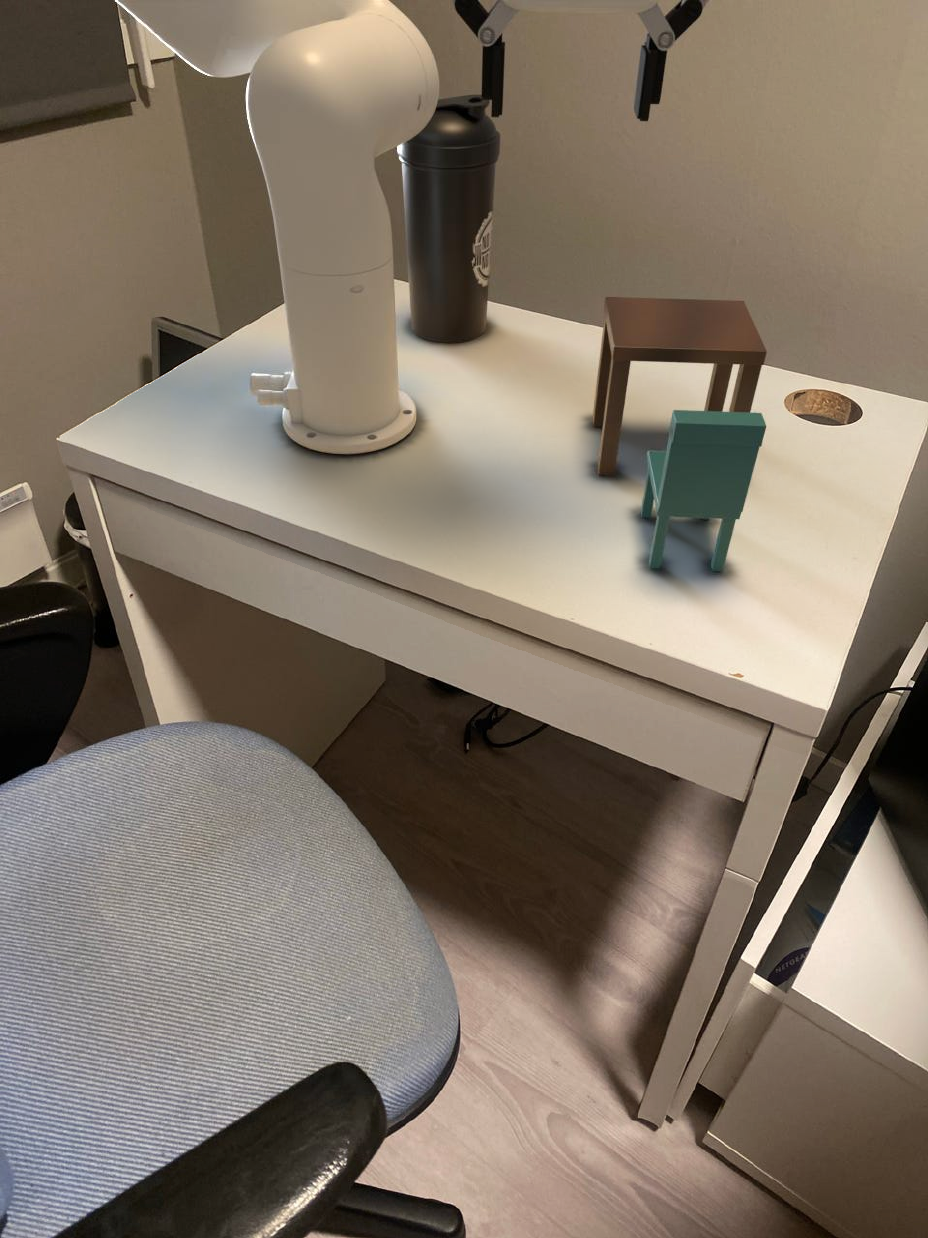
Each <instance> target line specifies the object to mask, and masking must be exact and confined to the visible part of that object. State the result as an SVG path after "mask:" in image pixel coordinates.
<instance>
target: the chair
mask: <svg viewBox="0 0 928 1238" xmlns="http://www.w3.org/2000/svg"><path fill="white" fill-rule="evenodd" d="M766 430H767V424H766V421H765V419H764V416H763V414H762V412H750V413H748V412H729V411H722V412H719V411H704V410H688V409H687V410H686V409H673V410H672V413H671V419H670V424H669V430H668V431H669V436H668V440H667V446H666V450H647V453H646V462H647V463H646V464H647V472H646V477H645V483H644V489H643V493H642V494H643V495H642V500H641V505H640V517H641V518H651V517H652V512H653V506H655V510H656V512H655V513H656V520H655V526H654V531H653V536H652V542H651V548H650V553H649V558H648V567H649V569H656V570H657V569H658V570H659V569H660V568H661V565H662V559H663V555H664V549H665V544H666V539H667V533H668V528H669V524H670V520H671V519H670V518H687V519H688V518H691V519H699V520H704V521H705V520H706V521H708V520H710V519H716V520H717V519H718V520H721V521H720V526H719V529H718V533H717V538H716V541H715V547H714V550H713V555H712V559H711V561H710V562H711V563H710V567H711V571H712V572H723V570H724V567H725V563H726V560H727V555H728V551H729V548H730V544H731V540H732V536H733V533H734V528H735V524H736V520H740V518H741V515H742V513H743V511H744V508H745V504H746V501H747V496H748V492H749V488H750V484H751V481H752V477H753V473H754V469H755V466H756V462H757V459H758V454H759V452H760V451H759V450H760V448H761V447H762V445H763V441H764V438H765V433H766Z"/></svg>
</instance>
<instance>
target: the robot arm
mask: <svg viewBox="0 0 928 1238" xmlns="http://www.w3.org/2000/svg"><path fill="white" fill-rule="evenodd" d="M114 1H115V2H116V3H117V4H119V5H120V6H121V7H122V8H123V9H125V10H126V11H127V12H128V14H130V15H131V16H132V17H134V18H135V19H136V20H137V21H138V22H139V23H141V24H142V25H143V26H144V27H145V28H146V29H147V30H148V31H149V32H151V33H152V34H153V35H154V36H155V37H156V38H158V39H159V40H160V41H161V42H162V43H163V44H165V45H166V46H167V47H168V48H169V49H170V50H171V51H172V52H174V53H175V54H176V55H177V57H180V58H181V59H182V60H183V61H184V62H186V63H187V64H188V65H190V66H191V67H192V68H194V69H195V70H197V71H198V72H200V73H202V74H204V75H207V76H209V77H213V78H214V77H215V78H225V79H226V78H233V77H238V76H243V75H246V74H249V77H248V80H247V85H246V91H245V106H246V117H247V121H248V125H249V130H250V133H251V137H252V141H253V144H254V146H255V150H256V153H257V156H258V159H259V162H260V163H259V164H260V166H261V169H262V172H263V177H264V180H265V184H266V188H267V193H268V197H269V203H270V209H271V213H272V218H273V226H274V227H273V228H274V234H275V241H276V249H277V255H278V261H279V262H278V263H279V269H280V278H281V286H282V291H283V292H282V293H283V301H284V309H285V318H286V325H287V332H288V333H287V334H288V340H289V348H290V356H291V357H290V358H291V364H292V371H284V373H283V375H279V374H278V375H277V374H276V375H274V374H270V373H252V374H251V375H250V378H249V386H250V387H249V388H250V392H251V394H252V395H255V396H257V403H258V405H259V406H283V409H282V414H281V418H282V425H283V429H284V432H285V433H286V435H287V436H288V437H289V438H290V439H291V440H292V441H293V442H295V443H297V444H299V445H300V446H302V447H304V448H307V449H309V450H313V451H315V452H320V453H327V454H334V455H335V454H336V455H355V454H364V453H369V452H370V453H371V452H374V451H375V452H376V451H377V450H382V449H385V448H388V447H390V446H393V445H395V444H396V443H398V442H400V441H402V440H403V439H404V438H405V437H407V435H409V434H410V433H412V430H413V429H414V427H415V426H416V422H417V407H416V403H415V402H414V400H413V398H412V397H411V396H409V394H407V393H406V392H405V391H403V390H401V389H400V387H399V365H398V364H399V363H398V340H397V339H398V338H397V320H396V319H397V317H396V292H395V271H394V270H395V268H394V249H393V247H394V246H393V232H392V231H393V229H392V222H391V215H390V210H389V207H388V203H387V199H386V198H385V195H384V192H383V189H382V187H381V184H380V181H379V178H378V175H377V172H376V168H375V159H376V158H377V157H379V156H380V155H382V154H384V153H386V152H388V151H390V150H392V149H395V148H397V146H399V145H401V144H403V143H404V142H406V141H408V140H410V139H411V138H413V137H414V136H416V135H417V134H418V133H419V132H421V131H422V130H423V129H424V127H425V126H426V125H427V124H428V122H429V121H430V119H431V118H432V116H433V114H434V112H435V109H436V106H437V102H438V99H439V97H440V75H439V70H438V65H437V62H436V59H435V56H434V53H433V51H432V49H431V47H430V45H429V43H428V42H427V39H426V38H425V36H423V34H422V33H421V31H420V30H419V28H417V26H416V25H415V24H414V23H413V21H412V20H411V19H409V17H408V16H406V14H405V13H403V12H402V11H401V9H399V8H398V7H397V6H396V5H395V4H393V2H392V1H390V0H114ZM451 1H452V3H453V5H454V9H455V12H456V13H457V15H458V16H459V17H460V18H461V19H462V20H463V22H464V23H465V24H466V25H467V27H468V28H469V29H470V30H471V32H472V33H473V34H474V35H475V36H476V38H477V39H478V42H479V44H480V45H481V46H482V55H481V56H482V57H481V60H482V61H481V95H482V100H490V101H491V111H490V113H491V116H490V118H500V116H503V109H504V85H505V84H504V83H505V60H506V57H505V56H506V41H503V33H504V31H505V30H506V29H507V27H508V26H509V25H510V23H511V22H512V21H513V20H514V18H515V17H516V15H518V13H519V12H521V11H522V12H528V13H529V12H531V13H555V14H597V15H598V14H600V15H601V14H602V15H630V14H633V15H634V14H637V15H638V17H639V19H640V20H641V23H642V24H643V25H644V27H645V29H646V31H647V34H646V41H644V45H643V44H642V45H641V46H640V54H639V62H638V71H637V79H636V87H635V93H634V102H633V111H634V114H635V117H636V119H637V120H639V122H649V120H650V112H651V105H660V103H661V99H662V92H663V85H664V78H665V70H666V63H667V55H668V50H670V49H671V48H672V47H673V46H674V45H675V42H676V41H677V40H678V39H679V38H680V37H681V36H682V35H684V33H685V32H686V31H687V30H688V29H689V28H690V27H691V26H692V25H693V24H695V22H696V21H698V19H700V17H701V16H702V13H703V10H704V8H705V7H706V5H707V3H709V1H710V0H679V2H678V3H677V4H676V5H675V6H673V8H671V10H670V11H668V13H666V14H664V13H663V11H662V9H661V8H660V6H659V4H658V3H659V2H660V0H496V1H495V2H494V4H493V5H492V6H491V8H490V9H489V10H488V11H487V10H486V8H485V7H484V6H483V4H482V3H481V2H480V1H479V0H451Z"/></svg>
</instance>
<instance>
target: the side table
mask: <svg viewBox="0 0 928 1238" xmlns="http://www.w3.org/2000/svg"><path fill="white" fill-rule="evenodd" d="M603 311H604V318H603V325H602V334H601V344H600V352H599V360H598V369H597V377H596V386H595V395H594V402H593V410H592V411H593V412H592V427H594V428H602V429H601V435H600V436H601V437H600V444H599V453H598V460H597V471H598V472H597V473H598V474H597V475H598V476H608V477H611V476H612V477H615V475H616V467H617V460H618V452H619V446H620V439H621V433H622V426H623V419H624V411H625V403H626V398H627V392H628V385H629V384H628V383H629V377H630V369H631V363H632V362H650V363H652V362H653V363H677V364H678V363H680V364H681V363H683V364H711V365H712V364H713V366H712V371H711V376H710V381H709V386H708V391H707V395H706V399H705V405H704V410H703V411H719V412H724V406H725V403H726V398H727V393H728V389H729V385H730V380H731V376H732V371H733V367H734V365H739V367H738V371H737V374H736V379H735V383H734V388H733V392H732V397H731V401H730V405H729V410H728V412H748V413H751V411H752V407H753V403H754V399H755V396H756V391H757V387H758V382H759V379H760V374H761V371H762V366H764V365H765V362H766V357H767V353H768V351H767V348H766V347H765V344H764V342H763V340H762V338H761V336H760V334H759V331H758V329H757V327H756V324H755V322H754V320H753V318H752V315H751V313H750V312H749V309H748V306H747V305H746V302H745V300H728V299H727V300H726V299H724V300H723V299H697V298H696V299H695V298H694V299H693V298H665V297H664V298H661V297H629V296H628V297H623V296H605V298H604V306H603Z"/></svg>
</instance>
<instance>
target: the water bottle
mask: <svg viewBox="0 0 928 1238" xmlns="http://www.w3.org/2000/svg"><path fill="white" fill-rule="evenodd" d="M490 102H491V100H482V94H466V95H459V96H451V97H446V98H440V99H439V98H438V102H437V106H436V109H435V112H434V114H433V116H432V118H431V119H430V121H429V122H428V124H427V125H426V126H425V127H424V129H423V130H422V131H421V132H419V133H418V134H417V135H416V136H414V137H413V138H411V139H410V140H408V141H406V142H404V143H403V144H401V145H399V146H397V147H396V148H397V150H396V151H397V155H398V159H399V161H400V162H401V173H402V189H403V205H404V206H403V207H404V223H405V224H404V225H405V240H406V241H405V242H406V254H407V255H406V257H407V258H406V259H407V274H408V275H407V276H408V293H409V307H410V308H409V309H410V321H411V323H410V326H411V331H412V332H413V333H414V334H415V335H416V336H418V337H420V338H421V339H424V340H427V341H431V342H434V343H442V344H444V343H445V344H450V343H452V344H453V343H454V344H455V343H464V342H468V341H472V340H474V339H475V340H476V339H477V338H479V337H481V336H482V335H483V334H484V333H485V332H486V330H487V319H488V318H487V317H488V301H489V299H488V298H489V285H490V284H489V283H490V274H491V259H492V258H491V255H492V242H493V241H492V238H493V225H494V223H493V221H494V206H495V205H494V197H495V180H496V165H497V162H498V160H499V156H500V154H501V133H500V132H499V131H498V130H497V128H496V125H495V123H494V121H493V120H492V118H491V117H490V116H489V115H488V114H486V109H487V108H488V107H489V105H490Z"/></svg>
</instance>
